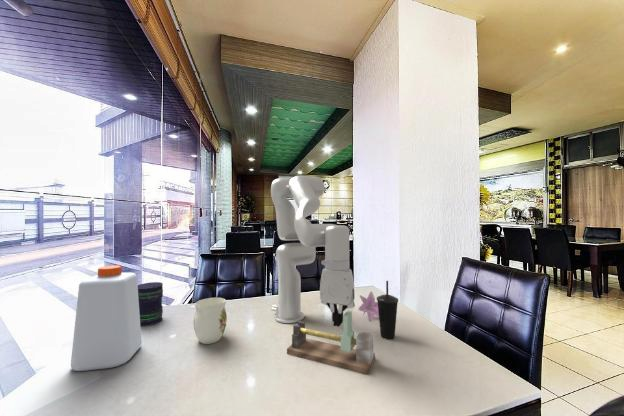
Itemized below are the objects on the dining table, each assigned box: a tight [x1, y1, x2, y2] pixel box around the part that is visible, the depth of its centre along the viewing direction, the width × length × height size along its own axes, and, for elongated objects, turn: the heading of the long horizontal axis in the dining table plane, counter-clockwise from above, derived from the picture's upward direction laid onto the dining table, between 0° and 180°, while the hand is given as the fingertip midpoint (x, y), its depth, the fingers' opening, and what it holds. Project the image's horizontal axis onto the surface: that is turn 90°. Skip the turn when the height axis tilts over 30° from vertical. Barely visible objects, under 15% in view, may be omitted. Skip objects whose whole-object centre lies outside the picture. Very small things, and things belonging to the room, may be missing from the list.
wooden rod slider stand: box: [286, 320, 376, 375], centre depth 83 cm, size 26×9×8 cm, turn 65°
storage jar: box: [137, 281, 164, 327], centre depth 110 cm, size 10×10×15 cm
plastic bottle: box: [70, 265, 142, 372], centre depth 82 cm, size 15×15×28 cm
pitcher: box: [193, 297, 228, 345], centre depth 95 cm, size 11×18×14 cm, turn 4°
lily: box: [358, 290, 379, 322], centre depth 114 cm, size 12×12×10 cm
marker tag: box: [340, 310, 356, 352], centre depth 80 cm, size 3×4×10 cm
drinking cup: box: [376, 280, 399, 341], centre depth 96 cm, size 8×8×20 cm
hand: (337, 324), depth 82 cm, fingers closed
